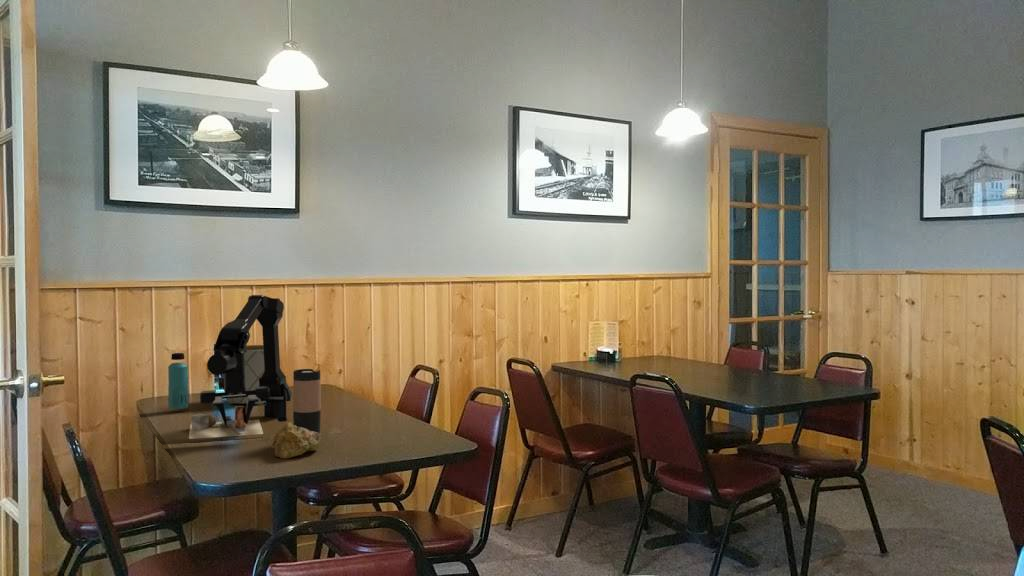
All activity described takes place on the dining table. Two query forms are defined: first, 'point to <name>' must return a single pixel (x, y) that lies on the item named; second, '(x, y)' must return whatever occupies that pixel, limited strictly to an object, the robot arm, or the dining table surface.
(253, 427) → the base
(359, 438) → the dining table surface
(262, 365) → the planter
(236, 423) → the lever
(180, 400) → the beverage bottle
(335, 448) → the dining table surface
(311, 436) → the rock
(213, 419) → the walnut
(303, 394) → the travel mug
